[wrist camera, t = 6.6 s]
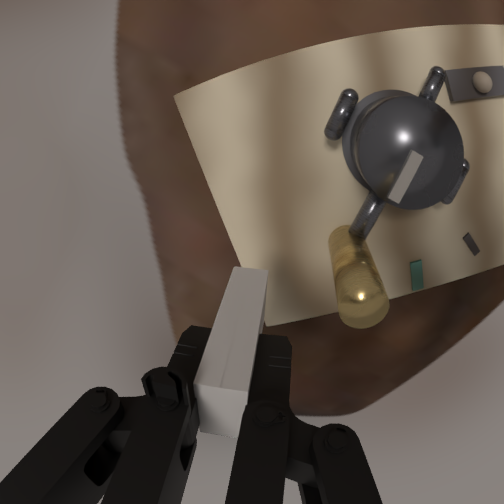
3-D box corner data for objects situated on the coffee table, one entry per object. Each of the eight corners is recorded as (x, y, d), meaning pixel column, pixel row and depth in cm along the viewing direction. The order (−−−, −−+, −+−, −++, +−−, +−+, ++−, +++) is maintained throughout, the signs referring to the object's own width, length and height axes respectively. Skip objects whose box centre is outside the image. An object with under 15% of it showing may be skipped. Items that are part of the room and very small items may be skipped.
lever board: (495, 28, 13) (521, 22, 10) (524, 242, 20) (545, 261, 17) (184, 95, 19) (163, 96, 16) (269, 311, 26) (264, 340, 23)
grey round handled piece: (367, 29, 14) (404, -6, 7) (487, 108, 14) (556, 123, 8) (274, 229, 20) (262, 292, 14) (392, 282, 21) (419, 352, 14)
